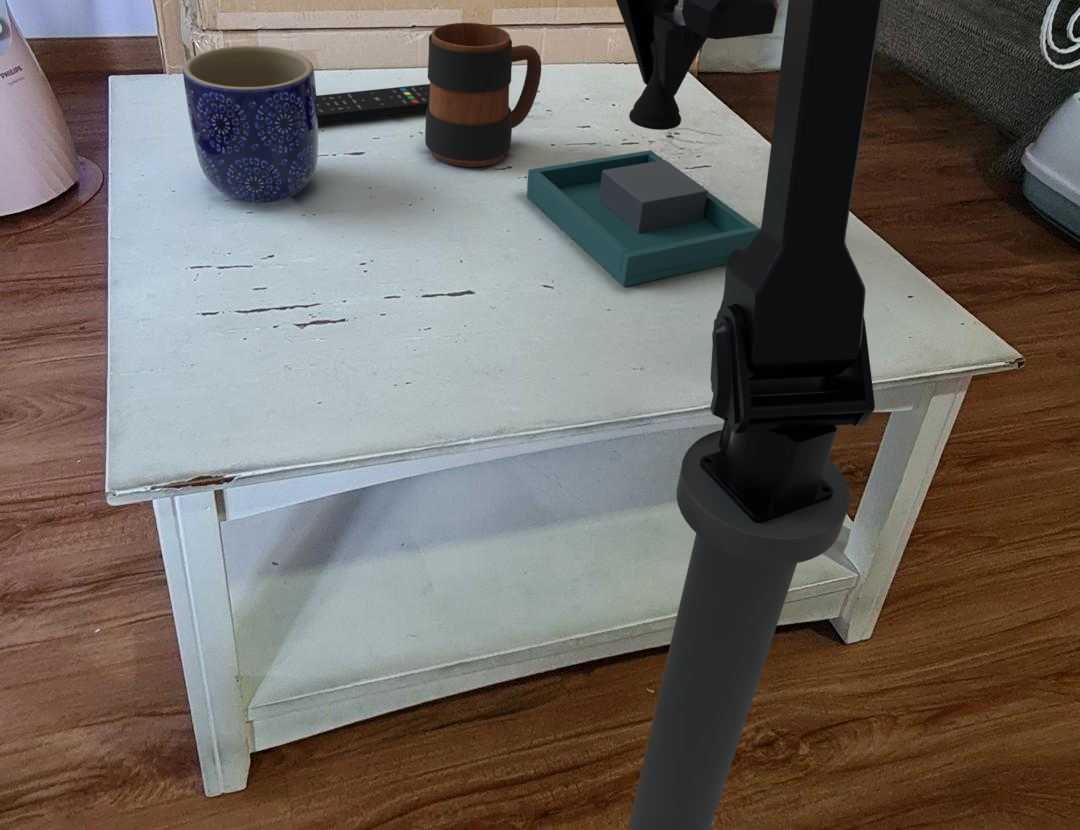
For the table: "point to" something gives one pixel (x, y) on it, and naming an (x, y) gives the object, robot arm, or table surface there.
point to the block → (652, 196)
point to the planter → (253, 120)
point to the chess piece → (656, 96)
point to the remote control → (372, 102)
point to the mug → (475, 93)
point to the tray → (616, 244)
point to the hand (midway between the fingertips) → (659, 90)
